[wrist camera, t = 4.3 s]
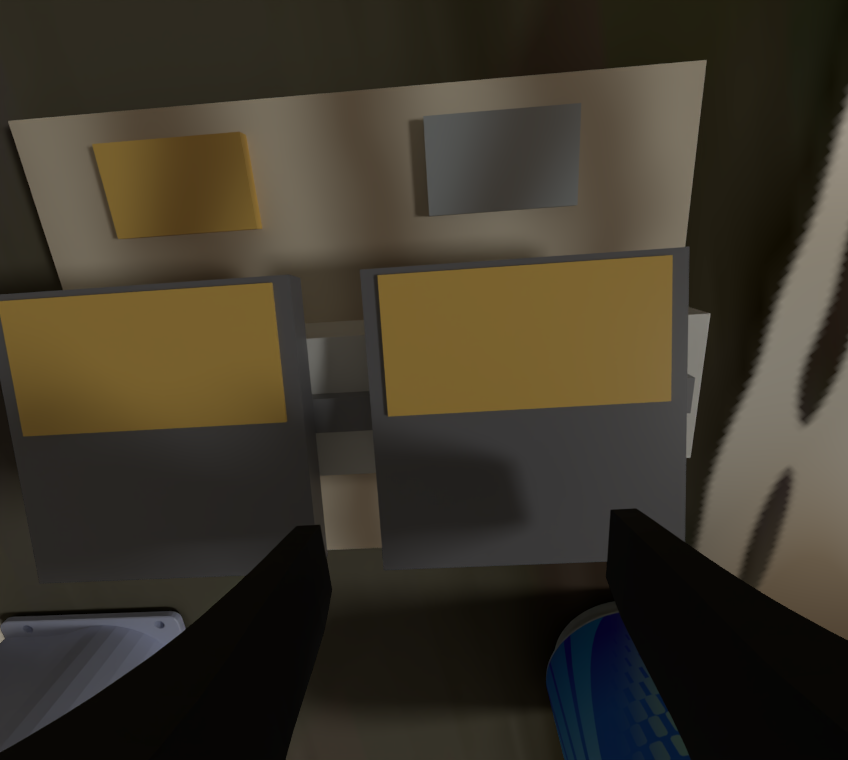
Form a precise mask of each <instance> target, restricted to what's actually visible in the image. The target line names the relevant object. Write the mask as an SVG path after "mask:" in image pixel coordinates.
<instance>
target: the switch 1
mask: <svg viewBox="0 0 848 760" xmlns="http://www.w3.org/2000/svg"><path fill="white" fill-rule="evenodd" d="M0 381H1V387H2V392H3V397H4V402H5V407H6V412H7V418H8V423H9V428H10V433H11V438H12V443H13V449H14V454H15V459H16V464H17V469H18V474H19V480H20V485H21V490H22V495H23V500H24V505H25V511H26V516H27V521H28V526H29V531H30V536H31V542H32V547H33V552H34V557H35V562H36V567H37V573H38V578H39V583H62V582H88V581H114V580H139V579H165V578H190V577H216V576H241V575H247V574H248V573H249V572H250V571H251V570H252V569H253V568H254V567H255V566H256V565H258V564H259V563H260V562H261V561H262V560H263V559H264V558H265V557H266V556H267V555H268V554H269V553H270V552H271V551H272V550H273V549H274V548H275V547H276V546H277V545H278V544H279V543H280V542H281V541H282V540H283V539H284V538H285V537H286V536H287V535H288V534H289V533H290V532H291V531H292V530H293V529H294V528H295V527H296V526H303V525H320V526H321V531H322V537H323V542H324V548H325V553H326V558H327V556H328V553H327V543H326V533H325V523H324V513H323V503H322V493H321V482H320V472H319V462H318V452H317V442H316V432H315V421H314V411H313V401H312V391H311V381H310V371H309V360H308V350H307V340H306V330H305V320H304V310H303V300H302V289H301V279H300V278H299V277H296V276H292V275H275V276H261V277H246V278H232V279H217V280H203V281H188V282H174V283H159V284H145V285H131V286H116V287H102V288H87V289H73V290H58V291H44V292H30V293H15V294H1V295H0Z"/></svg>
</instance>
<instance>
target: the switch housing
mask: <svg viewBox="0 0 848 760" xmlns="http://www.w3.org/2000/svg"><path fill="white" fill-rule="evenodd" d="M709 321H710V313H707V312H704V311H700V310H697V309H693V308H690V307H688V367H687V433H686V458H690V457H691V450H692V443H693V435H694V428H695V421H696V414H697V407H698V400H699V392H700V385H701V378H702V371H703V364H704V357H705V349H706V342H707V335H708V328H709ZM305 330H306V340H307V350H308V360H309V371H310V381H311V391H312V401H313V411H314V421H315V432H316V442H317V452H318V462H319V472H320V476H325V475H345V474H366V473H376V467H375V454H374V442H373V429H372V417H371V404H370V392H369V379H368V367H367V354H366V342H365V329H364V320H351V321H336V322H320V323H305Z"/></svg>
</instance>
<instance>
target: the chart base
mask: <svg viewBox="0 0 848 760" xmlns="http://www.w3.org/2000/svg"><path fill="white" fill-rule="evenodd" d="M705 69H706V60H702V61H691V62H679V63H668V64H656V65H645V66H633V67H622V68H610V69H599V70H587V71H576V72H565V73H553V74H542V75H530V76H519V77H507V78H496V79H484V80H473V81H461V82H450V83H438V84H427V85H416V86H404V87H393V88H381V89H370V90H358V91H347V92H335V93H324V94H312V95H301V96H289V97H278V98H266V99H255V100H244V101H232V102H221V103H209V104H198V105H186V106H175V107H163V108H152V109H140V110H129V111H117V112H106V113H94V114H83V115H72V116H60V117H49V118H37V119H26V120H14V121H8V122H9V125H10V129H11V132H12V135H13V138H14V141H15V144H16V147H17V150H18V153H19V156H20V159H21V162H22V165H23V168H24V172H25V175H26V178H27V181H28V184H29V187H30V190H31V193H32V196H33V199H34V202H35V205H36V208H37V211H38V215H39V218H40V221H41V224H42V227H43V230H44V233H45V236H46V239H47V242H48V245H49V248H50V251H51V254H52V258H53V261H54V264H55V267H56V270H57V273H58V276H59V279H60V282H61V285H62V288H63V290H73V289H87V288H102V287H116V286H131V285H145V284H159V283H174V282H188V281H203V280H217V279H232V278H246V277H261V276H275V275H292V276H296V277H299V278H300V279H301V289H302V300H303V310H304V320H305V323H320V322H336V321H351V320H364V317H363V304H362V292H361V279H360V270H361V269H375V268H390V267H404V266H419V265H433V264H447V263H462V262H476V261H491V260H505V259H520V258H534V257H548V256H563V255H577V254H592V253H606V252H621V251H635V250H650V249H664V248H678V247H685V242H686V234H687V225H688V216H689V208H690V199H691V190H692V182H693V173H694V164H695V156H696V147H697V138H698V130H699V121H700V112H701V104H702V95H703V86H704V78H705ZM320 482H321V493H322V503H323V513H324V523H325V533H326V543H327V550H338V549H362V548H382V542H381V529H380V517H379V504H378V492H377V479H376V473H366V474H345V475H325V476H320Z"/></svg>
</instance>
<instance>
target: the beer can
mask: <svg viewBox="0 0 848 760" xmlns="http://www.w3.org/2000/svg"><path fill="white" fill-rule="evenodd" d="M546 685H547V691H548V695H549V699H550V703H551V707H552V711H553V715H554V719H555V723H556V727H557V731H558V735H559V739H560V743H561V747H562V751H563V755H564V759H565V760H691V759H690V757H689V754H688V752H687V749H686V747H685V745H684V743H683V740H682V738H681V736H680V734H679V732H678V730H677V728H676V726H675V723H674V721H673V719H672V717H671V715H670V713H669V711H668V710H667V708H666V706H665V704H664V702H663V700H662V698H661V696H660V694H659V692H658V690H657V688H656V686H655V684H654V682H653V680H652V678H651V676H650V674H649V672H648V671H647V669H646V667H645V665H644V663H643V661H642V659H641V657H640V655H639V653H638V651H637V649H636V647H635V645H634V643H633V641H632V639H631V637H630V635H629V633H628V631H627V629H626V627H625V625H624V623H623V621H622V619H621V616H620V614H619V611H618V609H617V606H616V603H615V601H613V602H608V603H604V604H601V605H598V606H595V607H593V608H590V609H588V610H587V611H585V612H583V613H581V614H580V615H578V616H577V617H576V618H574V619H573V620H572V621H571V622H570V623H569V624H568V625H567V626H566V627H565V628H564V630H563V631H562V633H561V634H560V636H559V638H558V640H557V643H556V646H555V650H554V652H553V654H552V656H551V658H550V660H549V663H548V667H547V672H546Z"/></svg>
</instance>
